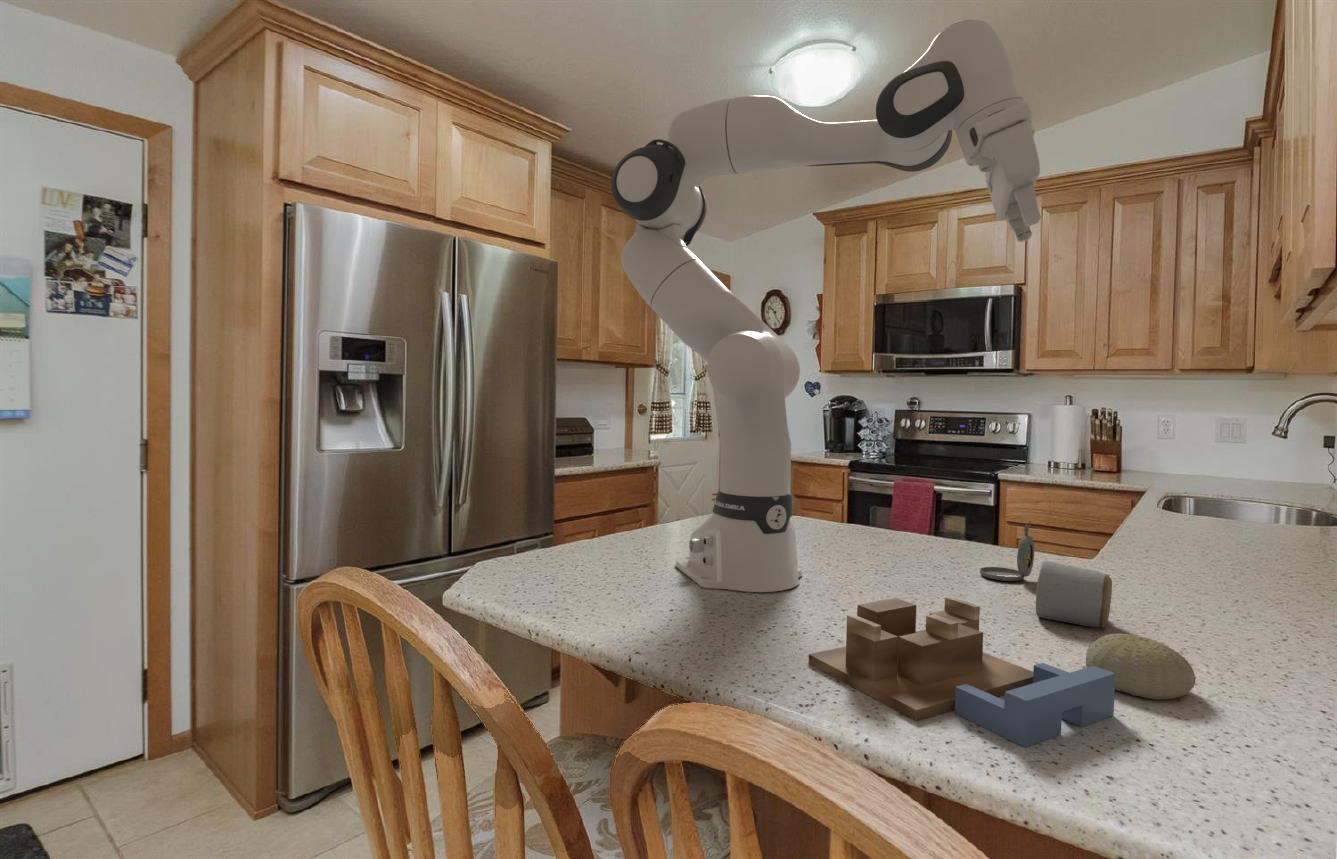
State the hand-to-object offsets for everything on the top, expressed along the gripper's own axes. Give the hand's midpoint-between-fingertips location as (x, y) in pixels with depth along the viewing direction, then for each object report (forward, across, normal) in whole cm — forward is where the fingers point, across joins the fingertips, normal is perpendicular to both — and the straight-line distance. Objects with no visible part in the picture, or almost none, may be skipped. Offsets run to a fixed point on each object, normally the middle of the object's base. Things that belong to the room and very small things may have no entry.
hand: (1029, 232), depth 92 cm
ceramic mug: (+52, 0, -10) cm, 53 cm away
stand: (+46, +28, -28) cm, 60 cm away
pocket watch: (+50, -19, -16) cm, 56 cm away
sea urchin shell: (+53, +22, -8) cm, 58 cm away
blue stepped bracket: (+49, +34, -18) cm, 62 cm away
